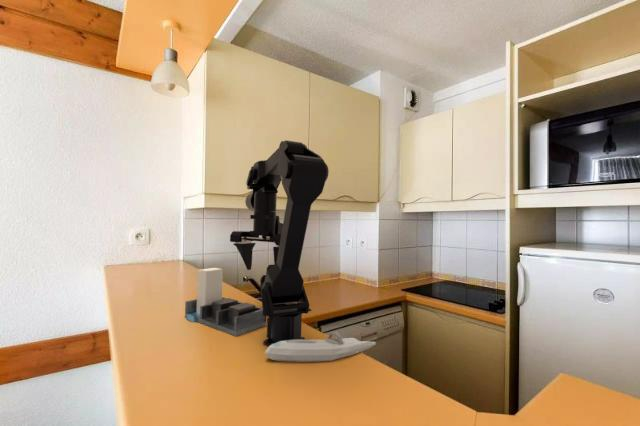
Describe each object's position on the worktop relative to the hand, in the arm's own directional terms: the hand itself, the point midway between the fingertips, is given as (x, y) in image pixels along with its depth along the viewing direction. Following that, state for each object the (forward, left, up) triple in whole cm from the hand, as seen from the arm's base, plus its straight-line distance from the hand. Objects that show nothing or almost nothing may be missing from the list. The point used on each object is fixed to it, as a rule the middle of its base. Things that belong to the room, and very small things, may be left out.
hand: (262, 271), depth 81 cm
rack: (+6, +7, -12) cm, 15 cm away
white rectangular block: (+12, +6, -11) cm, 18 cm away
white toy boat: (-23, +10, -13) cm, 28 cm away
